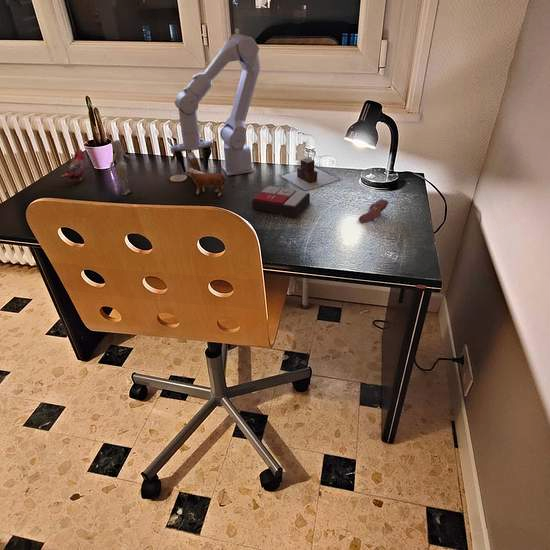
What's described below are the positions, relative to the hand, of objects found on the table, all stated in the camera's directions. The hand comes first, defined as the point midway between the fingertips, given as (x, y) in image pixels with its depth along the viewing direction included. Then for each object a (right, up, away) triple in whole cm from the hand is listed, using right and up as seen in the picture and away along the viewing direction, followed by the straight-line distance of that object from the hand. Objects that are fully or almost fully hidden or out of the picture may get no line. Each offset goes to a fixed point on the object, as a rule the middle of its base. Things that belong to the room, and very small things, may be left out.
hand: (195, 170), depth 148 cm
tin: (0, -3, +2) cm, 3 cm away
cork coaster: (-6, -3, +2) cm, 7 cm away
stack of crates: (+40, -3, +1) cm, 41 cm away
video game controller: (+57, -20, -23) cm, 65 cm away
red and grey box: (+30, -16, -16) cm, 38 cm away
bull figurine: (+5, -10, -8) cm, 13 cm away
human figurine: (-21, -10, -7) cm, 25 cm away
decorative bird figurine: (-41, -5, 0) cm, 42 cm away
